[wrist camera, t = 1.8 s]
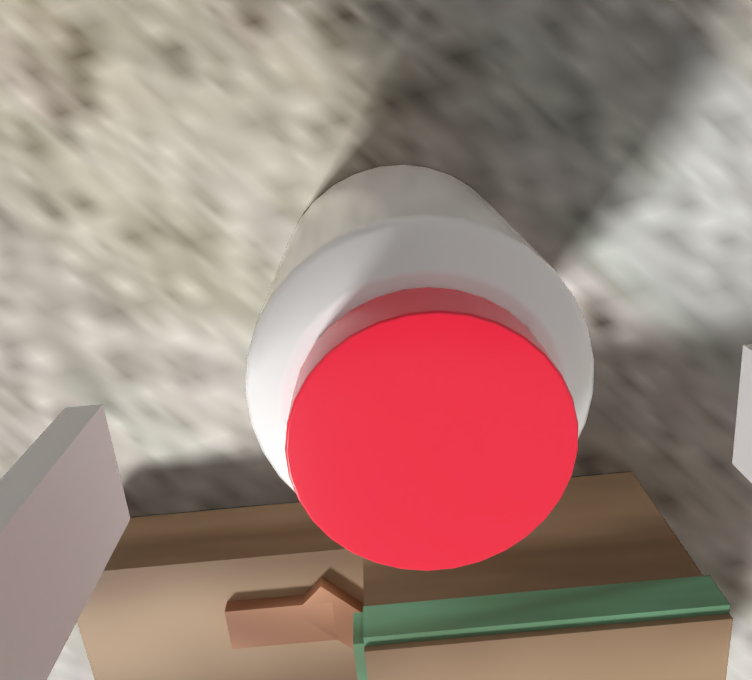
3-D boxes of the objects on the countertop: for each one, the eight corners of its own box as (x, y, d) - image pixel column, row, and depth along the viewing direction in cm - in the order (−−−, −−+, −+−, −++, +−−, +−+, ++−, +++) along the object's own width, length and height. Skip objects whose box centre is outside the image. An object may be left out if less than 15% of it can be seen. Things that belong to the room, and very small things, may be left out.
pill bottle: (310, 408, 25) (277, 645, 15) (256, 190, 22) (169, 294, 12) (528, 368, 25) (650, 582, 14) (500, 142, 22) (628, 206, 12)
